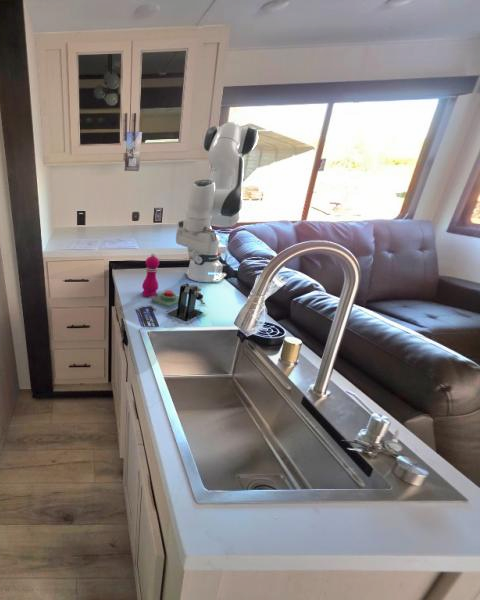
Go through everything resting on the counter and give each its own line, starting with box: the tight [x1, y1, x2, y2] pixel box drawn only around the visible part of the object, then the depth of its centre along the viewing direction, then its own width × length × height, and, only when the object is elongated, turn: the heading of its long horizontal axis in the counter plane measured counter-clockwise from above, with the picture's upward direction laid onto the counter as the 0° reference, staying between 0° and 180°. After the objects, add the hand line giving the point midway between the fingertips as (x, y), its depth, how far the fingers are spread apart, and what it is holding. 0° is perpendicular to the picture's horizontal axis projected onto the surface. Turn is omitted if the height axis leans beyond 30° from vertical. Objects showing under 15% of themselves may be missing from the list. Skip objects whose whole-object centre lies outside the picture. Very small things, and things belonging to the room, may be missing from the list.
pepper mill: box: [141, 253, 160, 298], centre depth 143 cm, size 7×7×20 cm
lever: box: [184, 286, 204, 301], centre depth 127 cm, size 13×3×3 cm, turn 131°
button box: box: [151, 291, 179, 309], centre depth 138 cm, size 11×9×4 cm
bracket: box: [166, 283, 204, 323], centre depth 125 cm, size 12×9×13 cm
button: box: [164, 289, 174, 297], centre depth 137 cm, size 4×4×2 cm
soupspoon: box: [189, 284, 206, 305], centre depth 145 cm, size 22×3×7 cm
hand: (192, 259), depth 126 cm, fingers closed
